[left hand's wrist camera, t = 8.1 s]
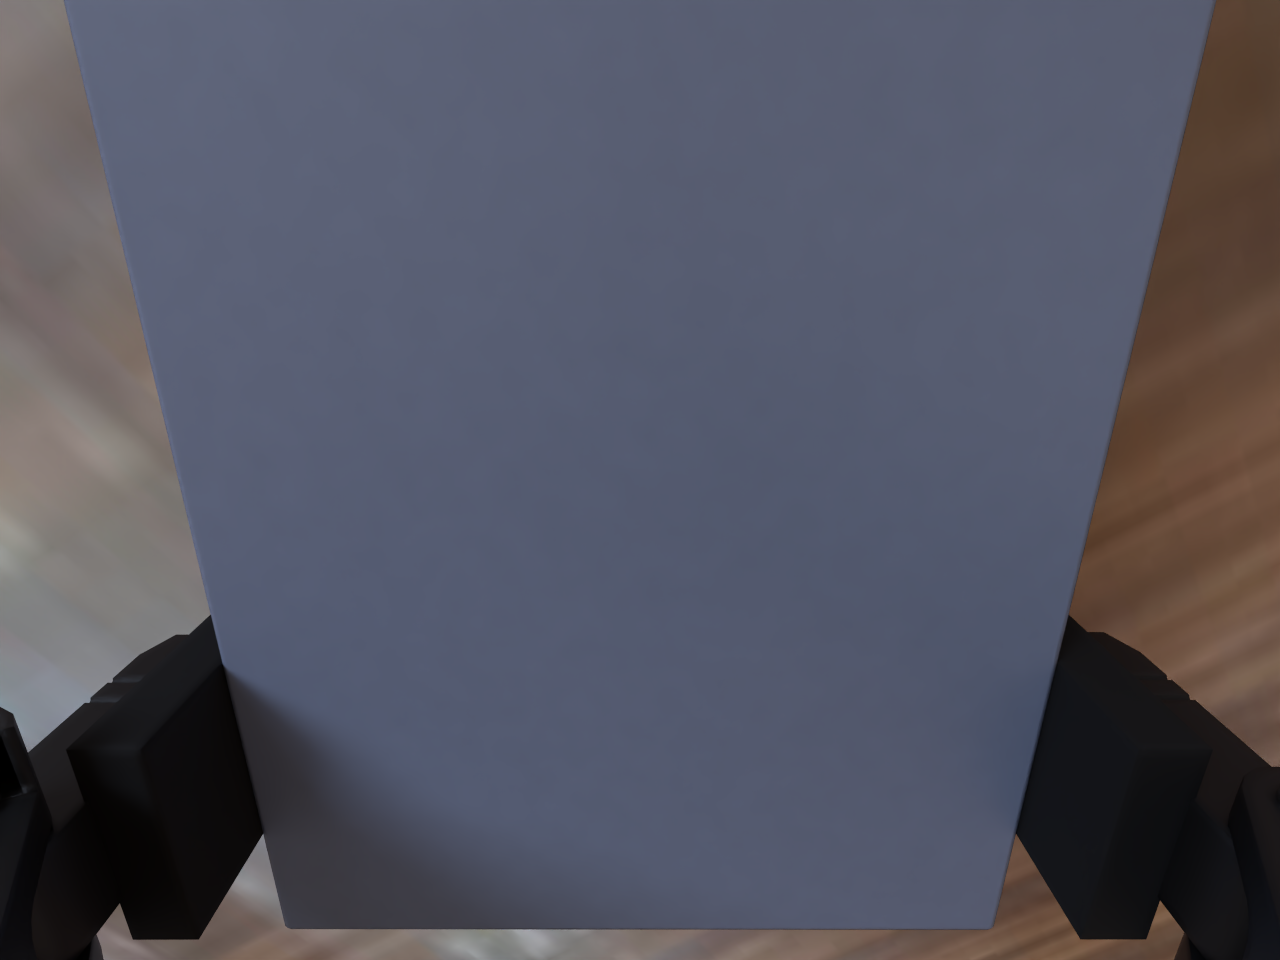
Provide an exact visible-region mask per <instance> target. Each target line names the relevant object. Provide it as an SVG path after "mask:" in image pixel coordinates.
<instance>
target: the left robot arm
mask: <svg viewBox="0 0 1280 960" xmlns="http://www.w3.org/2000/svg"><path fill="white" fill-rule="evenodd" d="M1016 834H1017V836H1018V837H1019V839H1020V841H1021V842H1022V844H1023V846H1024V847H1025V849H1026V851H1027V852H1028V854H1029V856H1030V857H1031V859H1032V860H1033V862H1034V864H1035V865H1036V867H1037V869H1038V870H1039V872H1040V874H1041V875H1042V877H1043V879H1044V880H1045V882H1046V883H1047V885H1048V887H1049V888H1050V890H1051V892H1052V893H1053V895H1054V897H1055V898H1056V900H1057V902H1058V903H1059V905H1060V906H1061V908H1062V910H1063V911H1064V913H1065V915H1066V916H1067V918H1068V920H1069V921H1070V923H1071V925H1072V926H1073V928H1074V929H1075V931H1076V933H1077V934H1078V936H1079V938H1080V939H1146V938H1147V935H1148V933H1149V930H1150V927H1151V924H1152V921H1153V919H1154V916H1155V913H1156V910H1157V907H1158V904H1159V902H1160V901H1161V902H1162V903H1163V904H1164V906H1165V907H1166V908H1167V910H1168V911H1169V912H1170V914H1171V915H1172V916H1173V918H1174V919H1175V920H1176V922H1177V923H1178V924H1179V926H1180V927H1181V928H1182V929H1183V931H1184V935H1183V937H1182V940H1181V943H1180V945H1179V948H1178V951H1177V953H1176V956H1175V959H1174V960H1280V767H1271V766H1270V765H1269V764H1268V763H1267V762H1265V761H1264V760H1263V759H1262V758H1261V757H1260V756H1258V755H1257V754H1256V753H1255V752H1254V751H1253V750H1252V749H1250V748H1249V747H1248V746H1247V745H1246V744H1245V743H1244V742H1242V741H1241V740H1240V739H1239V738H1238V737H1237V736H1236V735H1234V734H1233V733H1232V732H1231V731H1230V730H1229V729H1228V728H1226V727H1225V726H1224V725H1223V724H1222V723H1221V722H1220V721H1218V720H1217V719H1216V718H1215V717H1214V716H1213V715H1212V714H1210V713H1209V712H1208V711H1207V710H1206V709H1205V708H1203V707H1202V706H1201V705H1200V704H1199V703H1198V702H1197V701H1195V700H1190V698H1189V694H1187V693H1186V692H1185V691H1184V690H1183V689H1182V688H1181V687H1179V686H1178V685H1177V684H1176V683H1175V682H1174V681H1173V680H1167V675H1166V674H1165V673H1163V672H1162V671H1161V670H1160V669H1159V668H1158V667H1157V666H1155V665H1154V664H1153V663H1152V662H1151V661H1150V660H1149V659H1147V658H1146V657H1145V656H1144V655H1143V654H1142V653H1140V652H1139V651H1137V650H1135V649H1133V648H1132V647H1130V646H1128V645H1126V644H1124V643H1122V642H1121V641H1119V640H1117V639H1115V638H1113V637H1111V636H1109V635H1108V634H1106V633H1104V632H1087V631H1086V630H1084V629H1083V628H1082V627H1081V626H1080V625H1079V624H1078V623H1077V622H1076V621H1075V620H1074V619H1073V618H1072V617H1070V616H1069V615H1068V619H1067V623H1066V627H1065V631H1064V635H1063V640H1062V644H1061V648H1060V652H1059V656H1058V660H1057V664H1056V669H1055V673H1054V677H1053V681H1052V685H1051V689H1050V694H1049V698H1048V702H1047V706H1046V710H1045V714H1044V719H1043V723H1042V727H1041V731H1040V735H1039V739H1038V743H1037V748H1036V752H1035V756H1034V760H1033V764H1032V768H1031V773H1030V777H1029V781H1028V785H1027V789H1026V793H1025V798H1024V802H1023V806H1022V810H1021V814H1020V818H1019V822H1018V827H1017V831H1016ZM262 835H263V830H262V826H261V822H260V817H259V813H258V809H257V805H256V801H255V797H254V792H253V788H252V784H251V780H250V776H249V771H248V767H247V763H246V759H245V755H244V751H243V746H242V742H241V738H240V734H239V730H238V726H237V721H236V717H235V713H234V709H233V705H232V701H231V696H230V692H229V688H228V684H227V680H226V675H225V671H224V667H223V663H222V659H221V655H220V650H219V646H218V642H217V638H216V634H215V630H214V625H213V621H212V617H211V615H210V616H209V617H208V618H207V619H206V620H204V621H203V622H202V623H201V624H200V625H199V626H198V627H197V628H196V629H195V630H194V631H193V632H192V633H190V634H189V635H175V636H173V637H171V638H169V639H168V640H166V641H164V642H162V643H160V644H158V645H157V646H155V647H153V648H151V649H149V650H147V651H146V652H144V653H142V654H140V655H139V656H138V657H137V658H135V659H134V660H133V661H132V662H131V663H130V664H129V665H127V666H126V667H125V668H124V669H123V670H122V671H121V672H119V673H118V674H117V675H116V676H115V677H114V678H113V682H112V683H107V684H106V685H105V686H104V687H102V688H101V689H100V690H99V691H98V692H97V693H96V694H94V695H93V696H92V697H91V701H90V703H84V704H83V705H82V706H81V707H80V708H79V709H77V710H76V711H75V712H74V713H73V714H72V715H71V716H69V717H68V718H67V719H66V720H65V721H64V722H63V723H61V724H60V725H59V726H58V727H57V728H56V729H55V730H53V731H52V732H51V733H50V734H49V735H48V736H47V737H46V738H44V739H43V740H42V741H41V742H40V743H39V744H38V745H36V746H35V747H34V748H33V749H32V750H31V751H30V752H27V750H26V747H25V744H24V742H23V739H22V736H21V734H20V731H19V728H18V726H17V723H16V720H15V718H14V715H13V714H12V713H10V712H9V711H7V710H5V709H3V708H1V707H0V960H103V955H102V949H101V945H100V943H99V940H98V937H97V935H96V934H97V932H98V931H99V930H100V929H101V927H102V926H103V925H104V923H105V922H106V921H107V919H108V918H109V917H110V915H111V914H112V913H113V911H114V910H115V909H116V907H117V906H118V905H119V903H120V904H121V907H122V910H123V913H124V916H125V919H126V921H127V924H128V927H129V930H130V933H131V936H132V938H133V940H169V939H199V938H200V936H201V935H202V933H203V932H204V930H205V928H206V927H207V925H208V923H209V922H210V920H211V918H212V917H213V915H214V913H215V912H216V910H217V909H218V907H219V905H220V904H221V902H222V900H223V899H224V897H225V895H226V894H227V892H228V890H229V889H230V887H231V886H232V884H233V882H234V881H235V879H236V877H237V876H238V874H239V872H240V871H241V869H242V867H243V866H244V864H245V863H246V861H247V859H248V858H249V856H250V854H251V853H252V851H253V849H254V848H255V846H256V844H257V843H258V841H259V840H260V838H261V836H262Z"/></svg>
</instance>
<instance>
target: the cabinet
mask: <svg viewBox="0 0 1280 960" xmlns="http://www.w3.org/2000/svg"><path fill="white" fill-rule="evenodd" d="M64 3H65V7H66V12H67V16H68V20H69V24H70V28H71V32H72V37H73V41H74V45H75V49H76V53H77V58H78V62H79V66H80V70H81V74H82V78H83V83H84V87H85V91H86V95H87V99H88V103H89V108H90V112H91V116H92V120H93V124H94V129H95V133H96V137H97V141H98V145H99V149H100V154H101V158H102V162H103V166H104V170H105V174H106V179H107V183H108V187H109V191H110V195H111V199H112V204H113V208H114V212H115V216H116V220H117V225H118V229H119V233H120V237H121V241H122V245H123V250H124V254H125V258H126V262H127V266H128V270H129V275H130V279H131V283H132V287H133V291H134V296H135V300H136V304H137V308H138V312H139V316H140V321H141V325H142V329H143V333H144V337H145V341H146V346H147V350H148V354H149V358H150V362H151V366H152V371H153V375H154V379H155V383H156V387H157V392H158V396H159V400H160V404H161V408H162V412H163V417H164V421H165V425H166V429H167V433H168V437H169V442H170V446H171V450H172V454H173V458H174V463H175V467H176V471H177V475H178V479H179V483H180V488H181V492H182V496H183V500H184V504H185V508H186V513H187V517H188V521H189V525H190V529H191V534H192V538H193V542H194V546H195V550H196V554H197V559H198V563H199V567H200V571H201V575H202V579H203V584H204V588H205V592H206V596H207V600H208V604H209V609H210V613H211V617H212V621H213V625H214V630H215V634H216V638H217V642H218V646H219V650H220V655H221V659H222V663H223V667H224V671H225V675H226V680H227V684H228V688H229V692H230V696H231V701H232V705H233V709H234V713H235V717H236V721H237V726H238V730H239V734H240V738H241V742H242V746H243V751H244V755H245V759H246V763H247V767H248V771H249V776H250V780H251V784H252V788H253V792H254V797H255V801H256V805H257V809H258V813H259V817H260V822H261V826H262V830H263V834H264V838H265V842H266V847H267V851H268V855H269V859H270V863H271V868H272V872H273V876H274V880H275V884H276V888H277V893H278V897H279V901H280V905H281V909H282V913H283V918H284V922H285V926H286V927H287V928H290V929H786V930H988V929H991V928H992V927H993V926H994V922H995V918H996V914H997V910H998V906H999V901H1000V897H1001V893H1002V889H1003V885H1004V881H1005V877H1006V872H1007V868H1008V864H1009V860H1010V856H1011V852H1012V847H1013V843H1014V839H1015V835H1016V831H1017V827H1018V822H1019V818H1020V814H1021V810H1022V806H1023V802H1024V798H1025V793H1026V789H1027V785H1028V781H1029V777H1030V773H1031V768H1032V764H1033V760H1034V756H1035V752H1036V748H1037V743H1038V739H1039V735H1040V731H1041V727H1042V723H1043V719H1044V714H1045V710H1046V706H1047V702H1048V698H1049V694H1050V689H1051V685H1052V681H1053V677H1054V673H1055V669H1056V664H1057V660H1058V656H1059V652H1060V648H1061V644H1062V640H1063V635H1064V631H1065V627H1066V623H1067V619H1068V615H1069V610H1070V606H1071V602H1072V598H1073V594H1074V590H1075V585H1076V581H1077V577H1078V573H1079V569H1080V565H1081V561H1082V556H1083V552H1084V548H1085V544H1086V540H1087V536H1088V531H1089V527H1090V523H1091V519H1092V515H1093V511H1094V506H1095V502H1096V498H1097V494H1098V490H1099V486H1100V482H1101V477H1102V473H1103V469H1104V465H1105V461H1106V457H1107V452H1108V448H1109V444H1110V440H1111V436H1112V432H1113V428H1114V423H1115V419H1116V415H1117V411H1118V407H1119V403H1120V398H1121V394H1122V390H1123V386H1124V382H1125V378H1126V373H1127V369H1128V365H1129V361H1130V357H1131V353H1132V349H1133V344H1134V340H1135V336H1136V332H1137V328H1138V324H1139V319H1140V315H1141V311H1142V307H1143V303H1144V299H1145V294H1146V290H1147V286H1148V282H1149V278H1150V274H1151V270H1152V265H1153V261H1154V257H1155V253H1156V249H1157V245H1158V240H1159V236H1160V232H1161V228H1162V224H1163V220H1164V215H1165V211H1166V207H1167V203H1168V199H1169V195H1170V191H1171V186H1172V182H1173V178H1174V174H1175V170H1176V166H1177V161H1178V157H1179V153H1180V149H1181V145H1182V141H1183V136H1184V132H1185V128H1186V124H1187V120H1188V116H1189V112H1190V107H1191V103H1192V99H1193V95H1194V91H1195V87H1196V82H1197V78H1198V74H1199V70H1200V66H1201V62H1202V58H1203V53H1204V49H1205V45H1206V41H1207V37H1208V33H1209V28H1210V24H1211V20H1212V16H1213V12H1214V8H1215V3H1216V0H64Z"/></svg>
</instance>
